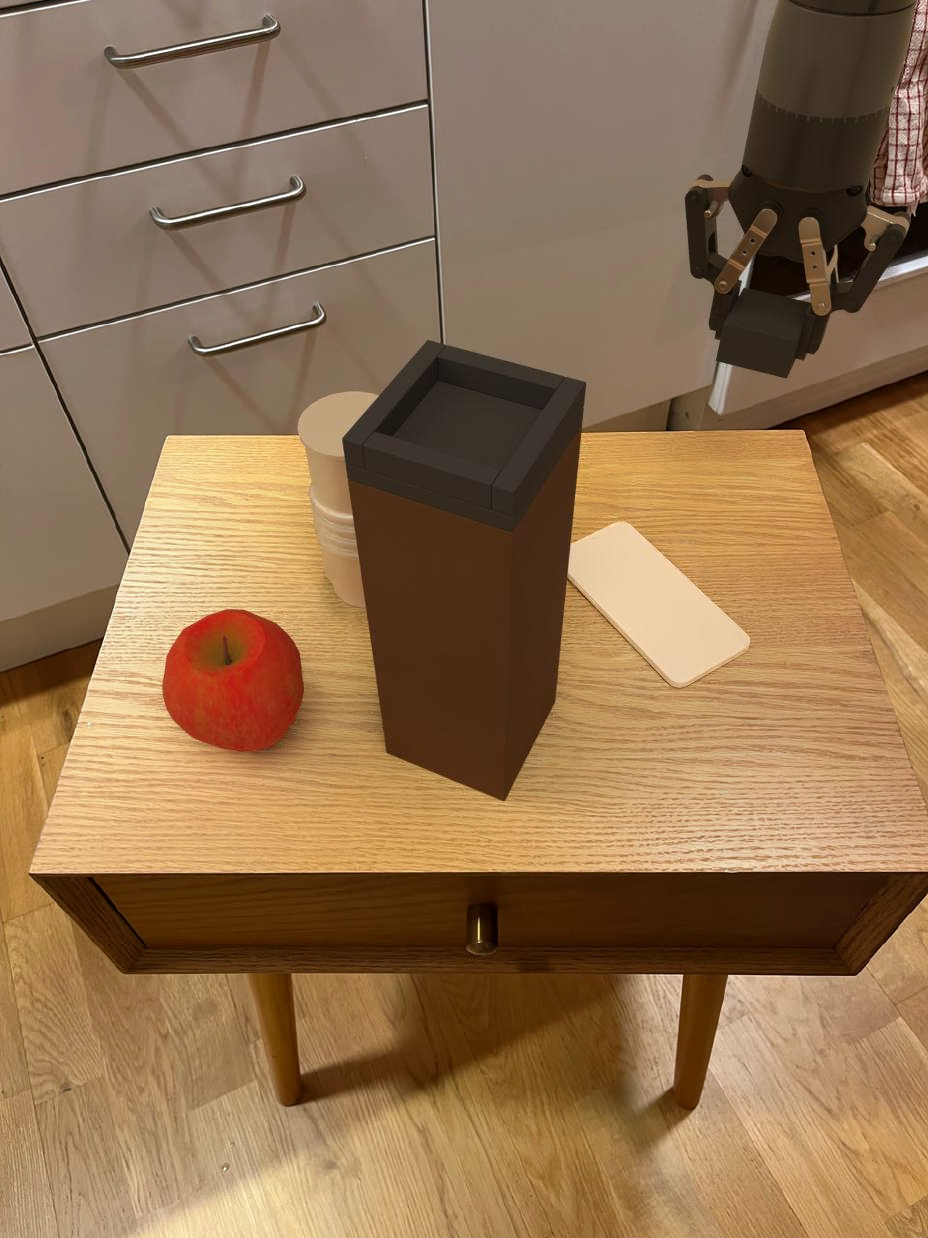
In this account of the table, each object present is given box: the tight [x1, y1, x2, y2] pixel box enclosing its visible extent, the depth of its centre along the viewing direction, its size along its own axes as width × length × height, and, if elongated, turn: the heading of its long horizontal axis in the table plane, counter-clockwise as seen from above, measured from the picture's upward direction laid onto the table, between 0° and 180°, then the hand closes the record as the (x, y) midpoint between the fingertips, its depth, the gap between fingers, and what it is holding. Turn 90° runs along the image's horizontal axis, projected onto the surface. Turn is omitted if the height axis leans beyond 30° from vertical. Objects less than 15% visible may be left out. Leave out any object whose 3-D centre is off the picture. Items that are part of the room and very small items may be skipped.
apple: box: [161, 608, 305, 753], centre depth 61 cm, size 9×8×11 cm
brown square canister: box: [342, 339, 587, 802], centre depth 55 cm, size 9×9×26 cm
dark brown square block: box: [715, 287, 811, 379], centre depth 67 cm, size 5×5×3 cm
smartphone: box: [567, 520, 751, 689], centre depth 72 cm, size 7×1×15 cm
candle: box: [297, 390, 379, 609], centre depth 68 cm, size 7×7×15 cm
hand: (762, 343), depth 67 cm, fingers closed on dark brown square block, 5 cm apart
